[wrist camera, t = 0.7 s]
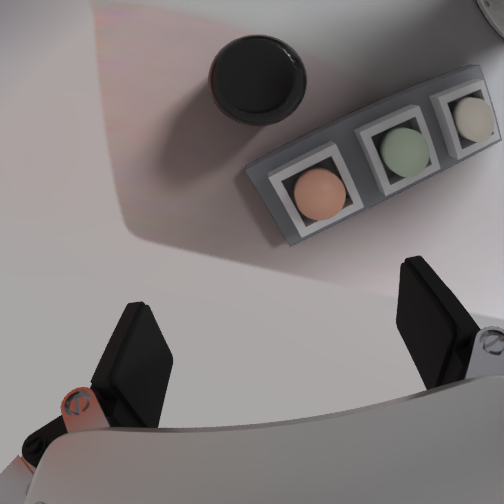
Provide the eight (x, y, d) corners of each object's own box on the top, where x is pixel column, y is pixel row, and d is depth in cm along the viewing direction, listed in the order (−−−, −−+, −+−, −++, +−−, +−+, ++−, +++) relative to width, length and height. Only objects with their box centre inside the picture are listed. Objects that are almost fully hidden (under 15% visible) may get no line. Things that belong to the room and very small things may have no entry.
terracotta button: (328, 158, 27) (333, 163, 25) (347, 200, 29) (353, 206, 27) (284, 180, 28) (286, 186, 26) (306, 220, 30) (309, 228, 28)
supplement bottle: (278, 40, 25) (292, 8, 14) (305, 104, 28) (335, 111, 17) (209, 66, 26) (180, 49, 15) (237, 129, 29) (226, 150, 18)
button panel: (469, 64, 24) (489, 65, 20) (491, 136, 27) (511, 143, 24) (245, 165, 30) (244, 175, 27) (287, 238, 34) (291, 255, 31)
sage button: (411, 119, 25) (420, 122, 23) (426, 161, 26) (435, 166, 25) (372, 137, 26) (379, 140, 24) (389, 179, 28) (396, 185, 26)
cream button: (476, 91, 22) (486, 93, 21) (488, 131, 24) (498, 134, 23) (447, 104, 24) (457, 105, 22) (460, 144, 25) (469, 148, 24)
